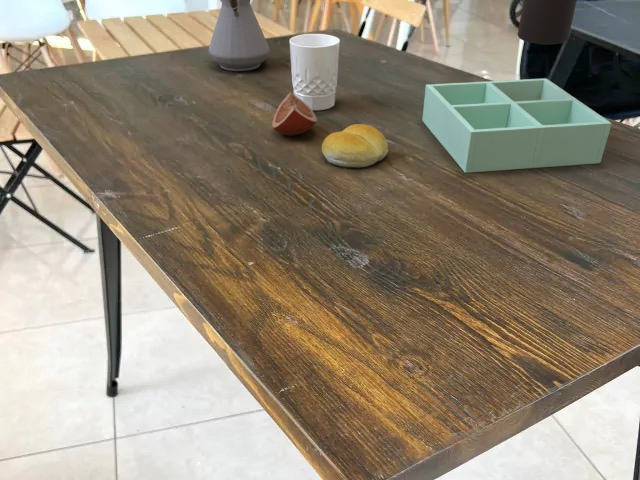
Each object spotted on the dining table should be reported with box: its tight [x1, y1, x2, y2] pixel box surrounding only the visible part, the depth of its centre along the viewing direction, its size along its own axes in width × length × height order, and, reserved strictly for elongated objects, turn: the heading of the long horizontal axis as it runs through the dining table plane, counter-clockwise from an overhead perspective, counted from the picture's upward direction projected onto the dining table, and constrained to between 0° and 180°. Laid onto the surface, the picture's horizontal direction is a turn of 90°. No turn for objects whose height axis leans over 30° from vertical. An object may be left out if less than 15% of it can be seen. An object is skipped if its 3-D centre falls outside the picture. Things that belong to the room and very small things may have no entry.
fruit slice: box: [271, 91, 318, 136], centre depth 95 cm, size 8×7×5 cm
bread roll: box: [321, 123, 389, 168], centre depth 88 cm, size 8×9×4 cm
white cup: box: [289, 33, 341, 112], centre depth 104 cm, size 8×8×10 cm
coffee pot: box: [208, 0, 271, 72], centre depth 116 cm, size 21×12×15 cm, turn 4°
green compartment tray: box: [421, 77, 613, 174], centre depth 93 cm, size 19×19×6 cm
